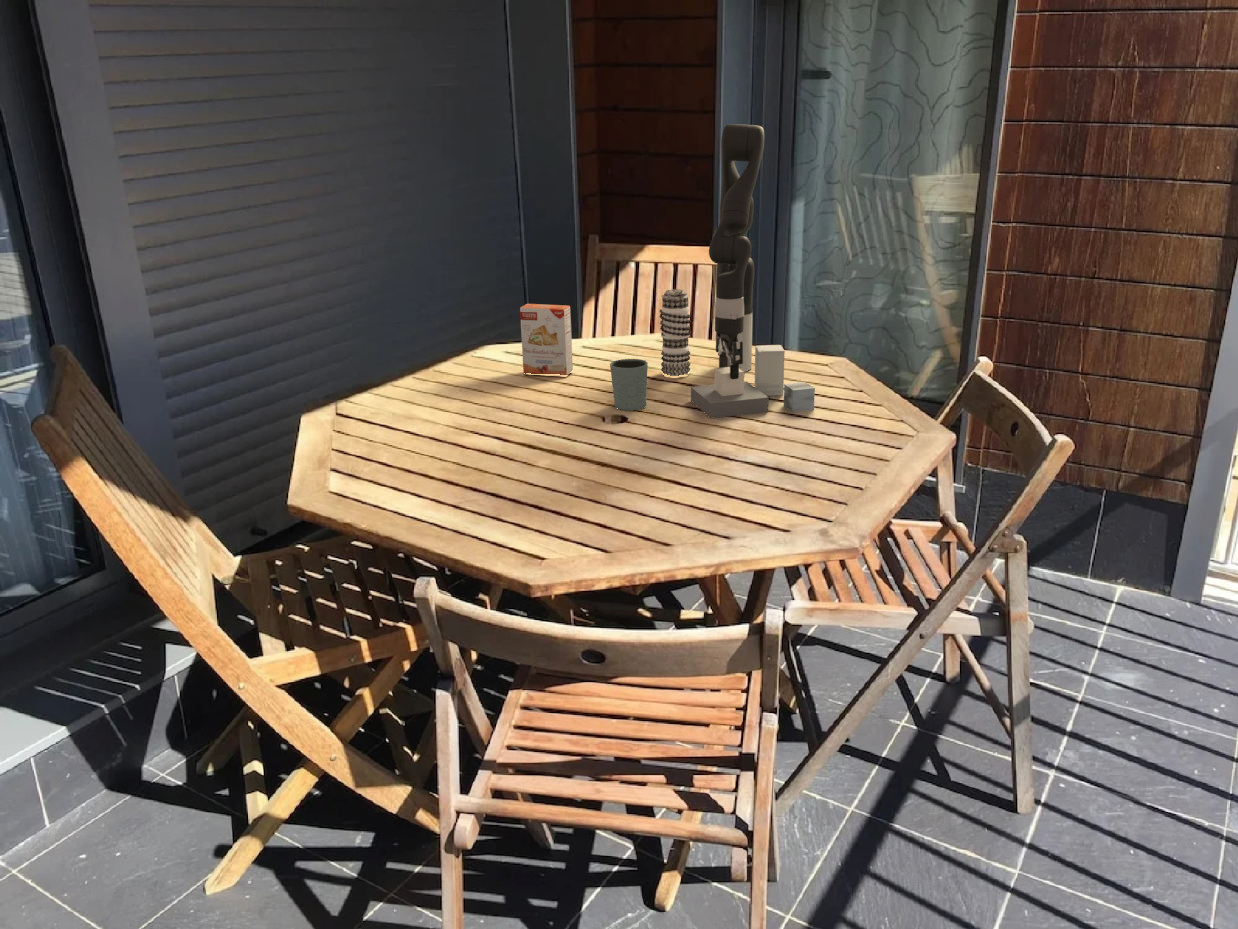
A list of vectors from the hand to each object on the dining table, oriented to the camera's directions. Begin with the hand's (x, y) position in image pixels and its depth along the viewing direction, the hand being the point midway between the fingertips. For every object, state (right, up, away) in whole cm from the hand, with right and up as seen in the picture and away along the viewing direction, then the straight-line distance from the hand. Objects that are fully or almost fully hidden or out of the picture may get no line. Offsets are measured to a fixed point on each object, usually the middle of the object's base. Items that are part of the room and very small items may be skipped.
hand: (728, 374), depth 274 cm
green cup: (-26, -8, +6) cm, 28 cm away
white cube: (0, -5, +2) cm, 5 cm away
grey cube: (+19, -9, 0) cm, 21 cm away
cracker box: (-50, +3, +38) cm, 63 cm away
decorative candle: (-12, +3, +34) cm, 36 cm away
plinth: (0, -8, +3) cm, 9 cm away
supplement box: (+13, -4, +15) cm, 20 cm away
